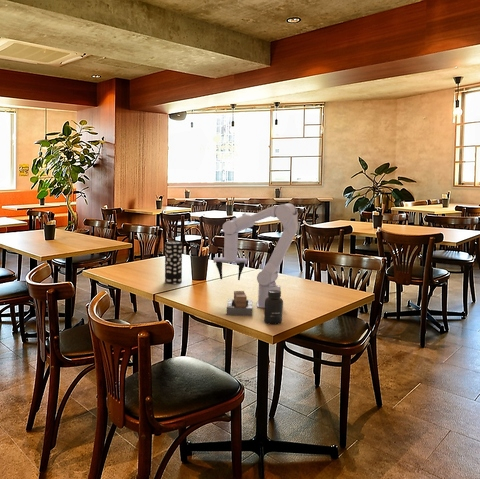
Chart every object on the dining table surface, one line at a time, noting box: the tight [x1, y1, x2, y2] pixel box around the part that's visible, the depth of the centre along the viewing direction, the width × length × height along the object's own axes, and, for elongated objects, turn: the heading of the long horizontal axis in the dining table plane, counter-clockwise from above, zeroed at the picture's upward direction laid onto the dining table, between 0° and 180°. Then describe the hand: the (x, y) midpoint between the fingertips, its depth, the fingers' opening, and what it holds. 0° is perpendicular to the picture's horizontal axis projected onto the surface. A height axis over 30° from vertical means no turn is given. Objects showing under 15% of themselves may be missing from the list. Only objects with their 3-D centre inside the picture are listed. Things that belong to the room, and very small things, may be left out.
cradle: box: [226, 298, 253, 317], centre depth 188 cm, size 10×12×3 cm
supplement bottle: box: [263, 290, 284, 326], centre depth 174 cm, size 7×7×12 cm
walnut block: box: [233, 290, 248, 307], centre depth 188 cm, size 9×4×6 cm, turn 7°
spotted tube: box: [164, 241, 183, 285], centre depth 232 cm, size 8×8×20 cm
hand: (230, 279), depth 202 cm, fingers open, 7 cm apart
